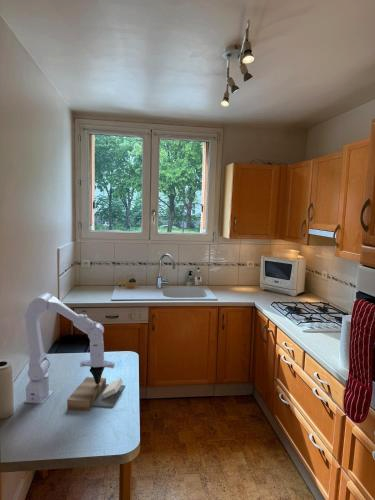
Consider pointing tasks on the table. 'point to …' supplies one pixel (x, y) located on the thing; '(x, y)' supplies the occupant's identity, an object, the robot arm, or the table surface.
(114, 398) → the mat
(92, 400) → the brown wooden block
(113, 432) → the table surface
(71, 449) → the table surface
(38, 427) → the table surface
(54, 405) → the table surface
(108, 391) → the cream foam block
